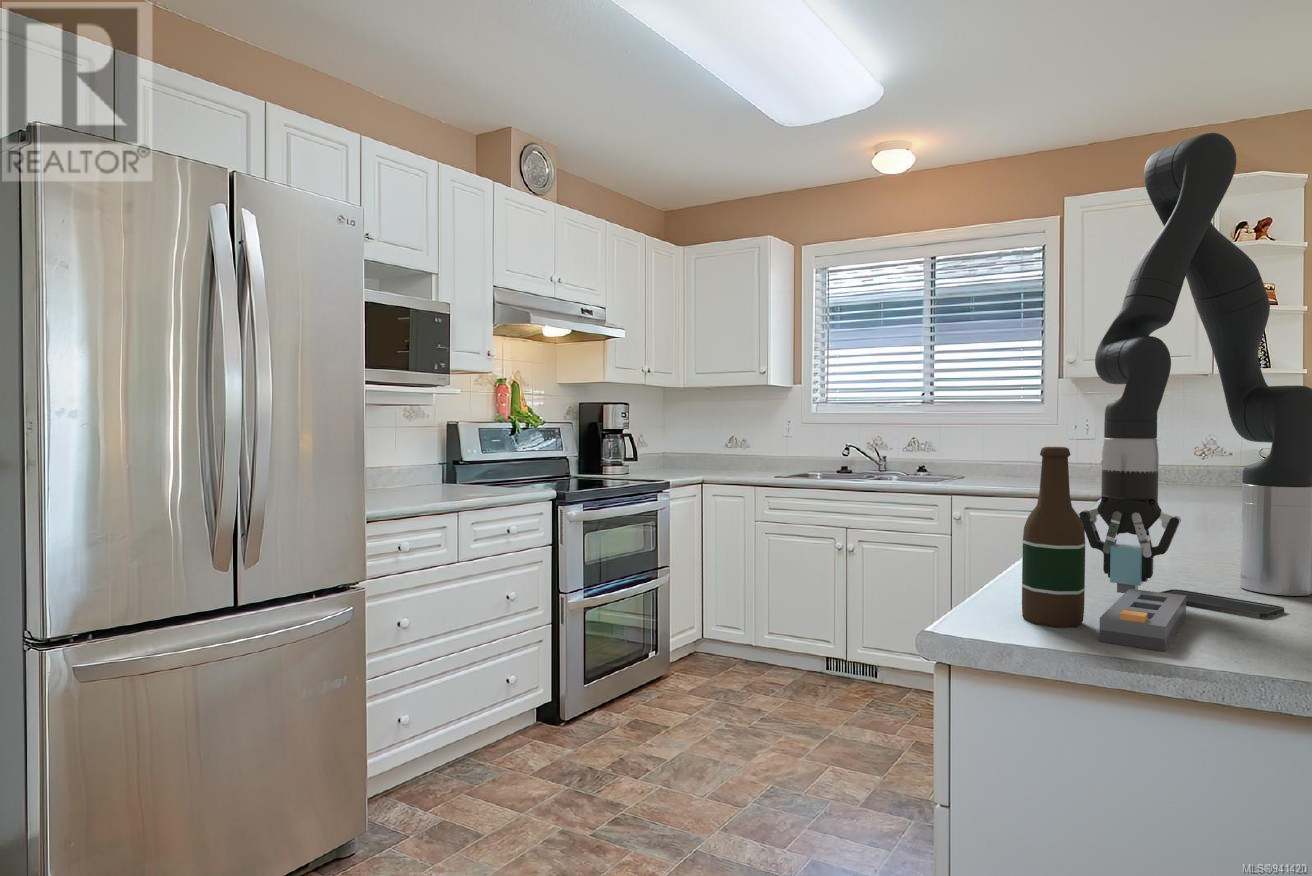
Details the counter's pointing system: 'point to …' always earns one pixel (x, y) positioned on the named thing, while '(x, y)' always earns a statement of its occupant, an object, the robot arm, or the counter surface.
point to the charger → (1126, 566)
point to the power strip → (1143, 619)
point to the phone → (1228, 604)
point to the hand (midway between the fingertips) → (1127, 578)
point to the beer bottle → (1053, 550)
